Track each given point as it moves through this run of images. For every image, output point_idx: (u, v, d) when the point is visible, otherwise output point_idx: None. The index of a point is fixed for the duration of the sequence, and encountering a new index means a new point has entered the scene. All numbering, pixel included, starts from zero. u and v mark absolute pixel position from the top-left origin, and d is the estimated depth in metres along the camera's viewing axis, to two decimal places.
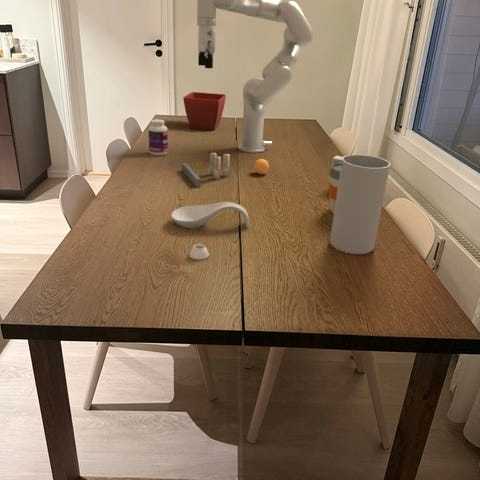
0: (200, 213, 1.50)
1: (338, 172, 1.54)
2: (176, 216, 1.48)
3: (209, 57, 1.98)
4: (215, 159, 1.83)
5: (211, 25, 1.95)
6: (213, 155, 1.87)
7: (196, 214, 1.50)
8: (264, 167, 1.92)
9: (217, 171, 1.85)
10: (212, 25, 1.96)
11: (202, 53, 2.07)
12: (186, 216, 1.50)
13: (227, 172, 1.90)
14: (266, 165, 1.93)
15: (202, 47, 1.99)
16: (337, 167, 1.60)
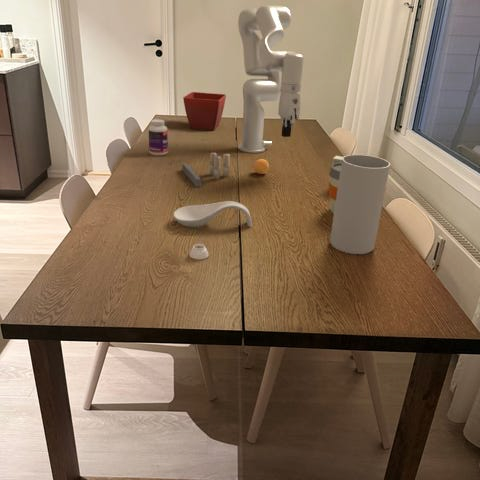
0: (202, 212, 1.51)
1: (338, 172, 1.54)
2: (178, 216, 1.48)
3: None
4: (215, 159, 1.83)
5: (297, 92, 1.83)
6: (213, 155, 1.87)
7: (198, 213, 1.51)
8: (264, 167, 1.92)
9: (217, 171, 1.85)
10: (297, 92, 1.83)
11: None
12: (188, 216, 1.50)
13: (227, 172, 1.90)
14: (266, 165, 1.93)
15: (285, 114, 1.86)
16: (337, 167, 1.60)
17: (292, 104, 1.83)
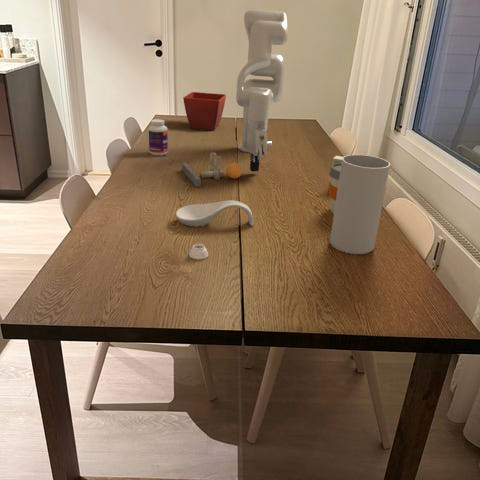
0: (204, 211, 1.51)
1: (338, 172, 1.54)
2: (180, 215, 1.48)
3: None
4: (215, 159, 1.83)
5: (263, 129, 1.85)
6: (213, 155, 1.87)
7: (200, 213, 1.52)
8: (238, 176, 1.87)
9: (217, 171, 1.85)
10: (264, 129, 1.85)
11: (254, 157, 1.93)
12: (190, 215, 1.51)
13: None
14: (236, 177, 1.88)
15: (253, 150, 1.88)
16: (337, 167, 1.60)
17: (259, 141, 1.85)
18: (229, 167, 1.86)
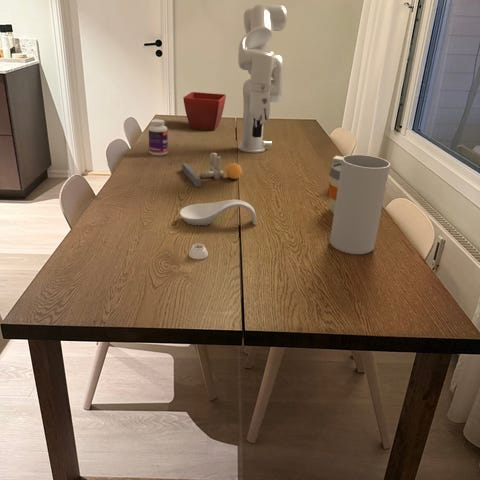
0: (207, 210, 1.52)
1: (338, 172, 1.54)
2: (184, 214, 1.49)
3: None
4: (215, 159, 1.83)
5: (266, 92, 1.79)
6: (213, 155, 1.87)
7: (204, 212, 1.52)
8: (238, 176, 1.87)
9: (217, 171, 1.85)
10: (267, 92, 1.79)
11: None
12: (194, 214, 1.52)
13: None
14: (236, 178, 1.88)
15: (255, 114, 1.82)
16: (337, 167, 1.60)
17: (261, 104, 1.79)
18: (229, 169, 1.85)
